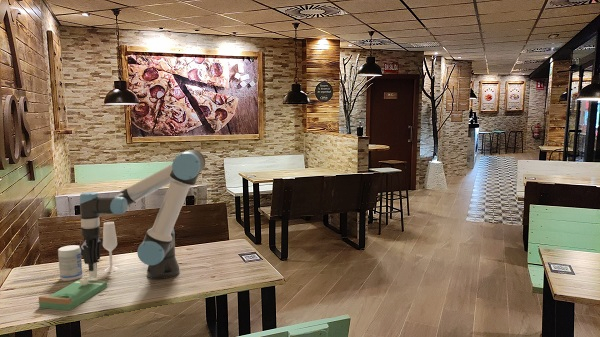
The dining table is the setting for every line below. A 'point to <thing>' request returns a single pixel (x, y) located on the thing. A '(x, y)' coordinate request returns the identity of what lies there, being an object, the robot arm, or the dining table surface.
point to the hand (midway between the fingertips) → (93, 276)
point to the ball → (84, 282)
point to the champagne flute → (109, 242)
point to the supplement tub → (70, 262)
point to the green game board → (71, 295)
